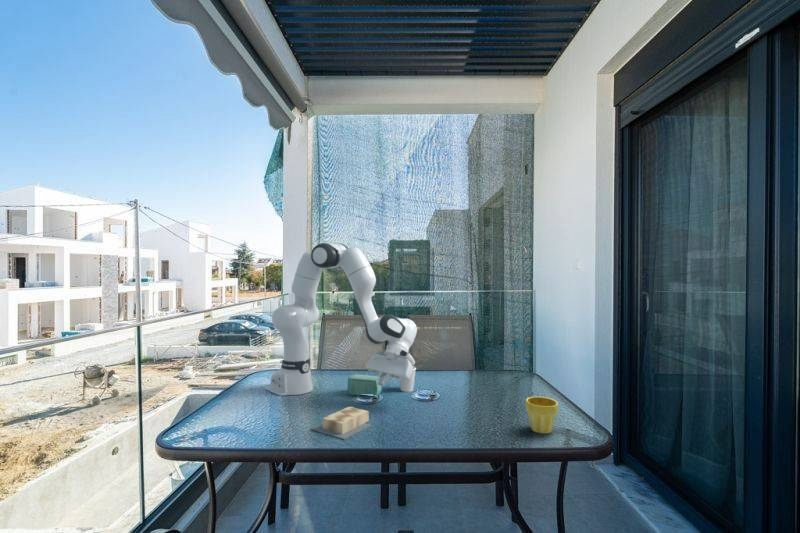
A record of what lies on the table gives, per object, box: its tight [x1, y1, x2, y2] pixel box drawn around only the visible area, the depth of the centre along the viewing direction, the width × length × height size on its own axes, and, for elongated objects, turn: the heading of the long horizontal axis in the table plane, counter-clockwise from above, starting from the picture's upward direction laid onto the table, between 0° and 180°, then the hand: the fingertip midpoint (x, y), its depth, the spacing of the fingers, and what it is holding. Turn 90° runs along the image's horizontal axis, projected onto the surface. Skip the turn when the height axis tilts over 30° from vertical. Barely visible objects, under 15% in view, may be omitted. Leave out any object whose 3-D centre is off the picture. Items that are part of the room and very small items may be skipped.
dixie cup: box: [398, 365, 417, 393], centre depth 185 cm, size 8×8×10 cm
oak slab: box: [322, 406, 370, 434], centre depth 144 cm, size 9×4×14 cm
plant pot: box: [525, 396, 559, 435], centre depth 139 cm, size 10×10×10 cm
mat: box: [311, 422, 372, 441], centre depth 142 cm, size 15×14×1 cm
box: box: [347, 374, 383, 396], centre depth 180 cm, size 7×14×8 cm, turn 75°
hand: (380, 384), depth 161 cm, fingers closed
